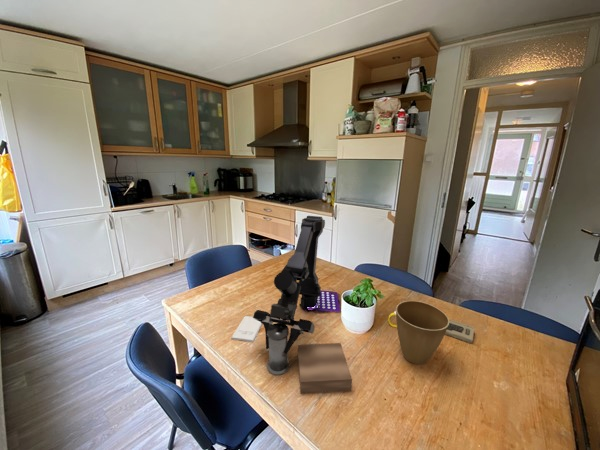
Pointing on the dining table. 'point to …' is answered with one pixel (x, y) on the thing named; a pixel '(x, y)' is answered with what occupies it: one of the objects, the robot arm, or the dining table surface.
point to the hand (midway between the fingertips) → (276, 351)
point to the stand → (323, 368)
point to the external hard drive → (247, 329)
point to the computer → (460, 331)
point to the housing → (278, 349)
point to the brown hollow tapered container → (420, 330)
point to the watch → (389, 319)
